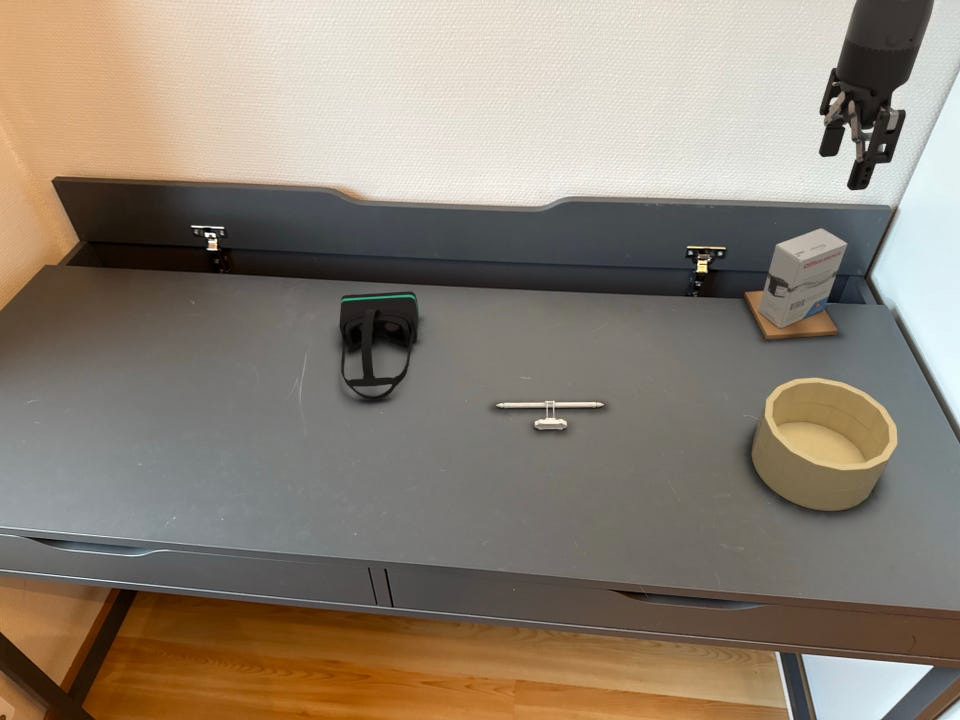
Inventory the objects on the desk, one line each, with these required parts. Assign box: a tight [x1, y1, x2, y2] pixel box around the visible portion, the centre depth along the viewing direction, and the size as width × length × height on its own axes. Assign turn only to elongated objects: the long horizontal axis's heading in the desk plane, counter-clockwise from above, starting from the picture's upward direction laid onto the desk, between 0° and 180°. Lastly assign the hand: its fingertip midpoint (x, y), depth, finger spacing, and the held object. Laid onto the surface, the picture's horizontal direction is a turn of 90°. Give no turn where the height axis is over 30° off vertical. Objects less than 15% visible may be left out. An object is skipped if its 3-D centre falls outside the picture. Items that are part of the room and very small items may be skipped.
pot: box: [751, 377, 899, 512], centre depth 81 cm, size 14×14×8 cm
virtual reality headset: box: [338, 290, 420, 401], centre depth 97 cm, size 11×17×10 cm, turn 2°
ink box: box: [758, 227, 848, 328], centre depth 99 cm, size 8×5×12 cm, turn 116°
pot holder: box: [743, 290, 839, 340], centre depth 103 cm, size 10×10×1 cm
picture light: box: [495, 399, 604, 431], centre depth 90 cm, size 14×4×2 cm, turn 88°
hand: (841, 171), depth 87 cm, fingers open, 8 cm apart
